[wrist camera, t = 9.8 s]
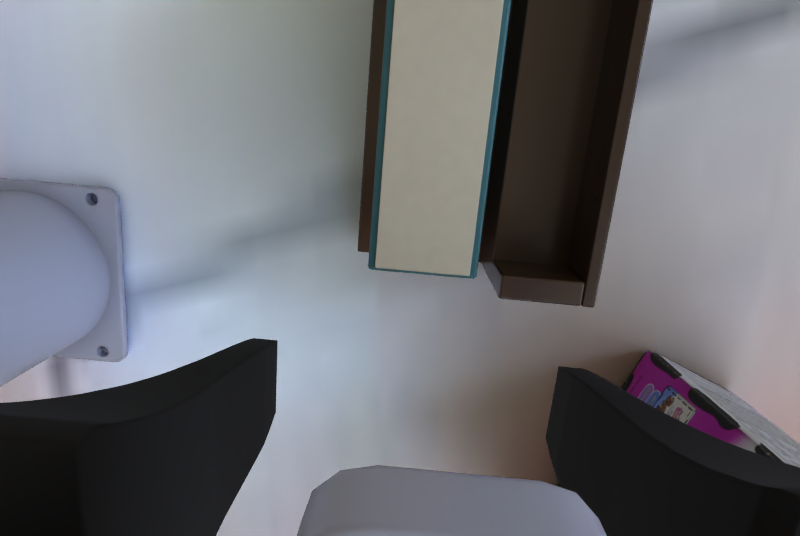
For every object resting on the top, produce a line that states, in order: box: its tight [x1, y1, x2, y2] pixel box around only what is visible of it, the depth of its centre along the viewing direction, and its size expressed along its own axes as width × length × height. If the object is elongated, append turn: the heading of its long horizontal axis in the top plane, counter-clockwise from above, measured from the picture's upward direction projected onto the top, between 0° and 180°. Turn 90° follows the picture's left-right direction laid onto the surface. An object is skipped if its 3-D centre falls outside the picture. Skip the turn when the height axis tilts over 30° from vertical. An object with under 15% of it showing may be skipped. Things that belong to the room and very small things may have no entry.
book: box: [368, 0, 511, 279], centre depth 16 cm, size 3×11×7 cm, turn 175°
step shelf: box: [358, 0, 653, 307], centre depth 17 cm, size 8×13×6 cm, turn 175°
